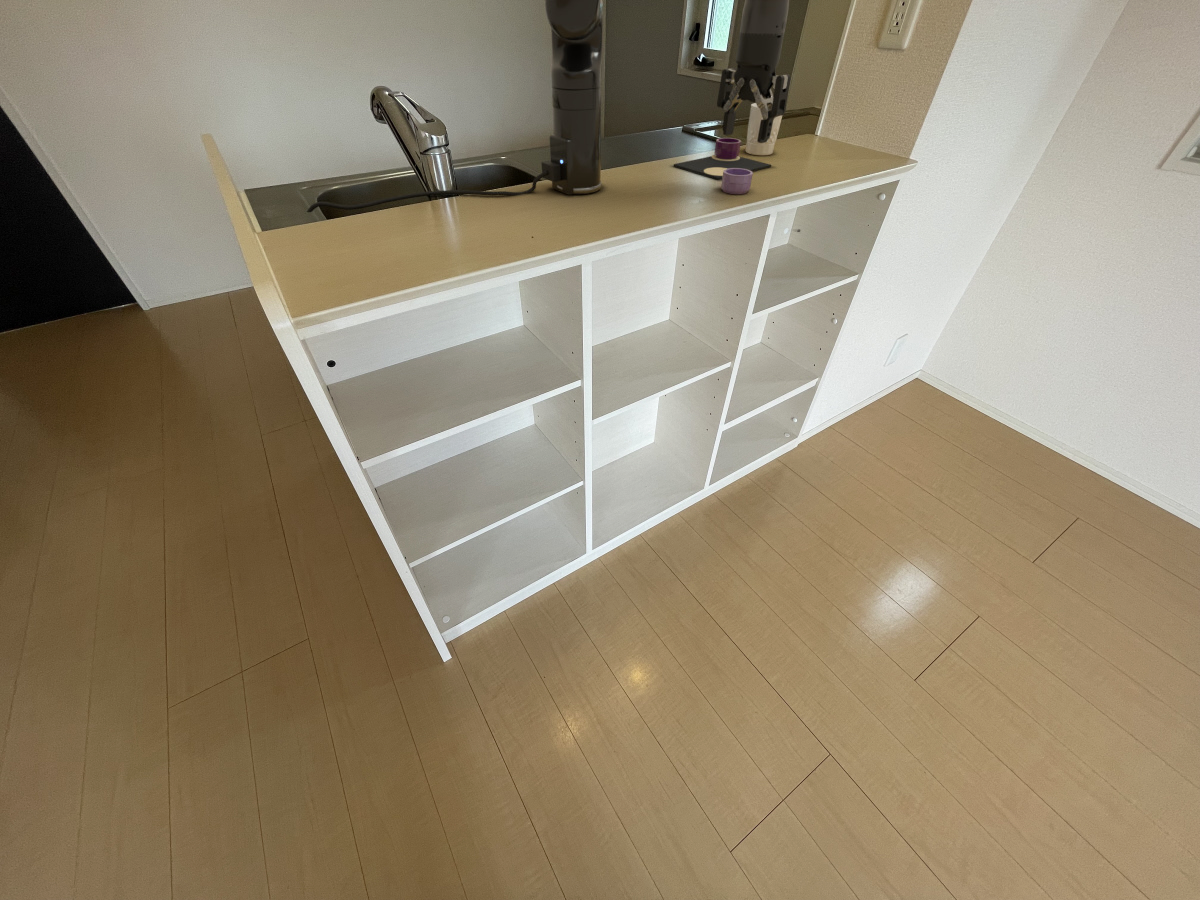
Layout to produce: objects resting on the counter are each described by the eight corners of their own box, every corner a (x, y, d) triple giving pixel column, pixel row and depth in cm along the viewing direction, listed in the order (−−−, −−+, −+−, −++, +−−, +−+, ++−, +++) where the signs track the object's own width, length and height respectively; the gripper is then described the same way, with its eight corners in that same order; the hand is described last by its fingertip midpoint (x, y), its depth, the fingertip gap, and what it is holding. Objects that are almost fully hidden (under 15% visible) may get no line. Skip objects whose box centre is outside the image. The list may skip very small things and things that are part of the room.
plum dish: (727, 161, 119) (729, 144, 117) (708, 156, 123) (711, 139, 120) (743, 157, 122) (746, 141, 119) (725, 152, 125) (727, 136, 123)
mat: (719, 180, 109) (719, 177, 109) (672, 166, 118) (672, 163, 118) (772, 167, 118) (772, 164, 117) (724, 155, 126) (725, 152, 126)
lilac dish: (736, 196, 101) (739, 177, 99) (714, 189, 104) (717, 170, 102) (755, 191, 103) (759, 172, 101) (733, 184, 107) (736, 166, 105)
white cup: (778, 156, 125) (788, 108, 118) (746, 156, 125) (754, 108, 119) (770, 149, 131) (780, 102, 124) (740, 148, 131) (748, 102, 124)
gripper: (716, 29, 89) (704, 135, 100) (782, 32, 81) (761, 148, 92) (744, 27, 93) (729, 130, 104) (810, 30, 84) (787, 142, 95)
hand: (744, 138), depth 98 cm, fingers open, 8 cm apart
